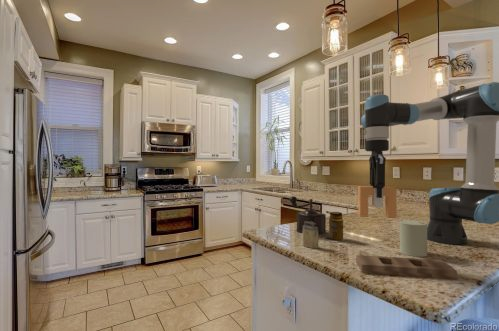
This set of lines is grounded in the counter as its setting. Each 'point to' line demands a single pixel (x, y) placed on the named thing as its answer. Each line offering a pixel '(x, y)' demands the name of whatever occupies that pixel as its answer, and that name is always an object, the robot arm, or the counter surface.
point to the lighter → (310, 235)
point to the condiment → (335, 227)
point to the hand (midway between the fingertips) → (376, 205)
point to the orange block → (369, 191)
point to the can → (413, 238)
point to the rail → (405, 266)
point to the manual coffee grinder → (309, 217)
